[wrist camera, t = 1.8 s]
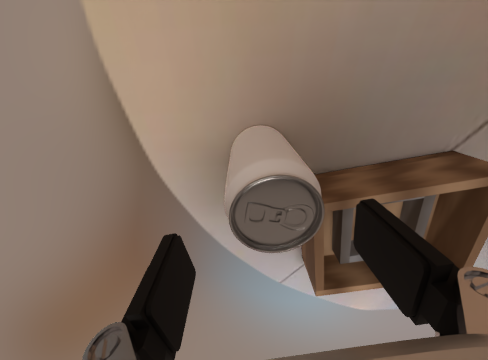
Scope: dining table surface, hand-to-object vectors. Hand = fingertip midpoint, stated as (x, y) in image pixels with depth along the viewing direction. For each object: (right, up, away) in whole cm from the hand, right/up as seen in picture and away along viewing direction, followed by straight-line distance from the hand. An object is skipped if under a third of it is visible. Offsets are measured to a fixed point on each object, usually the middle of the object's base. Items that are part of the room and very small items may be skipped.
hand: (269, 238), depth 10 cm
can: (0, +6, +12) cm, 13 cm away
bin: (+15, -1, +16) cm, 22 cm away
